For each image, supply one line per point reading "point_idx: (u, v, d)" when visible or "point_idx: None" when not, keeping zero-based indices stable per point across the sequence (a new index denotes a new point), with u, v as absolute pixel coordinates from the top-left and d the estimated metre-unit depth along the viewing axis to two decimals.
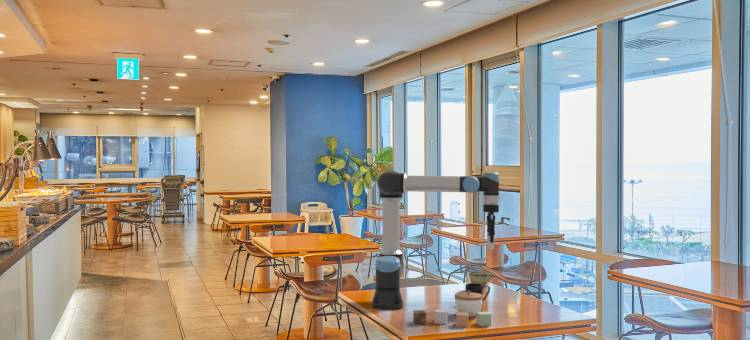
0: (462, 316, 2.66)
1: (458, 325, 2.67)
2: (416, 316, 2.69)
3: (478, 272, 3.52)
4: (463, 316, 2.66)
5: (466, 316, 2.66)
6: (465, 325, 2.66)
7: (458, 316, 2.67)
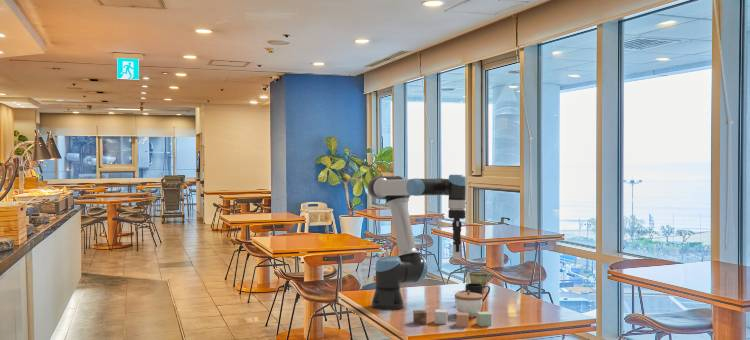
0: (462, 316, 2.66)
1: (458, 325, 2.67)
2: (416, 316, 2.70)
3: (478, 272, 3.52)
4: (463, 316, 2.66)
5: (466, 316, 2.66)
6: (465, 325, 2.66)
7: (458, 316, 2.67)
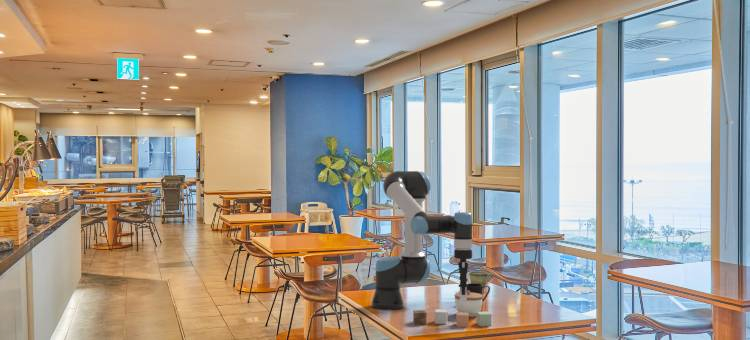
0: (462, 316, 2.66)
1: (458, 325, 2.67)
2: (416, 316, 2.69)
3: (478, 272, 3.52)
4: (463, 316, 2.66)
5: (466, 316, 2.66)
6: (465, 325, 2.66)
7: (458, 316, 2.67)
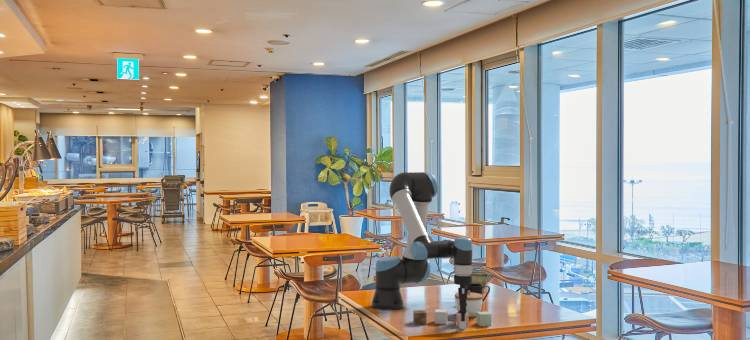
0: None
1: (458, 325, 2.67)
2: (416, 316, 2.70)
3: (478, 272, 3.52)
4: None
5: (466, 316, 2.66)
6: None
7: (458, 316, 2.67)
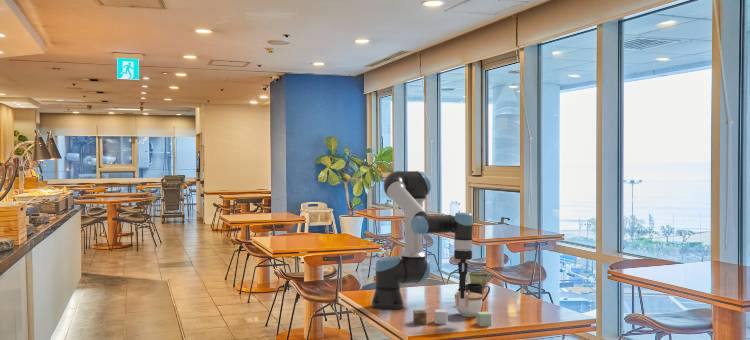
0: None
1: (458, 305, 2.67)
2: (416, 316, 2.70)
3: (478, 272, 3.52)
4: None
5: (466, 296, 2.67)
6: (465, 305, 2.67)
7: (458, 296, 2.67)
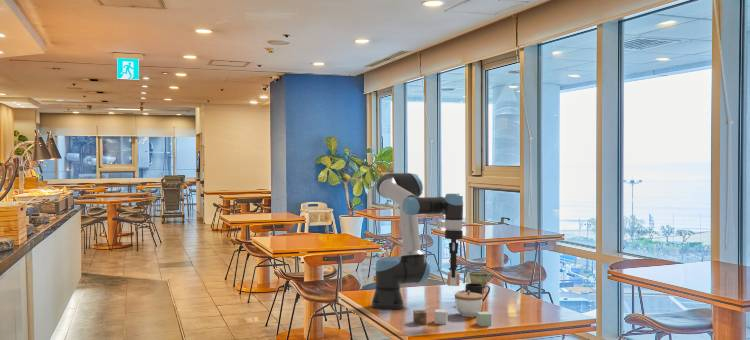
0: None
1: (449, 284, 2.71)
2: (416, 316, 2.70)
3: (478, 272, 3.52)
4: None
5: (457, 275, 2.71)
6: (456, 284, 2.71)
7: (449, 275, 2.71)
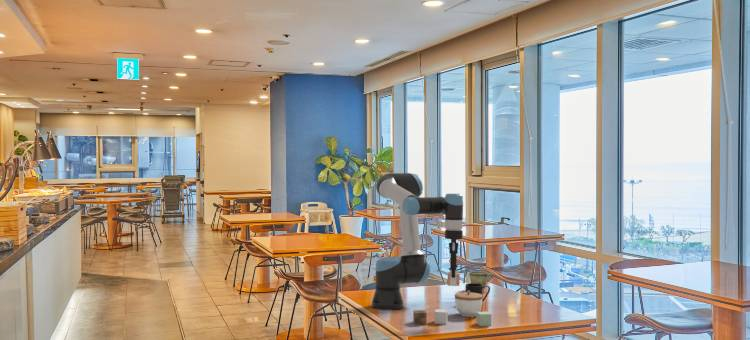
0: None
1: (449, 284, 2.71)
2: (416, 316, 2.70)
3: (478, 272, 3.52)
4: None
5: (457, 275, 2.71)
6: (456, 284, 2.71)
7: (449, 275, 2.71)
